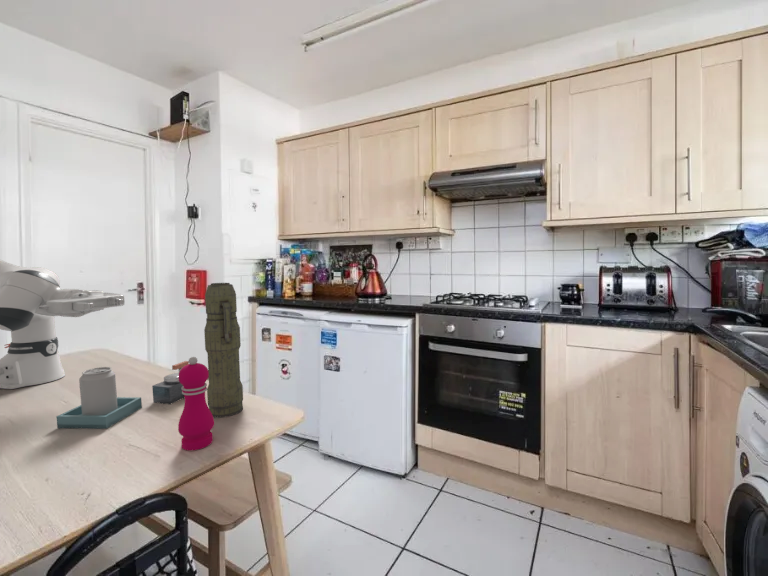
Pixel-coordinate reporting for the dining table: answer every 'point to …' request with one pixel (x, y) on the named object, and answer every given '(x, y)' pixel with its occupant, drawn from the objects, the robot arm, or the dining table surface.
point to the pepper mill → (195, 407)
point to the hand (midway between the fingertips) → (107, 304)
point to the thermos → (223, 351)
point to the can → (98, 391)
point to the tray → (78, 420)
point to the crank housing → (169, 387)
